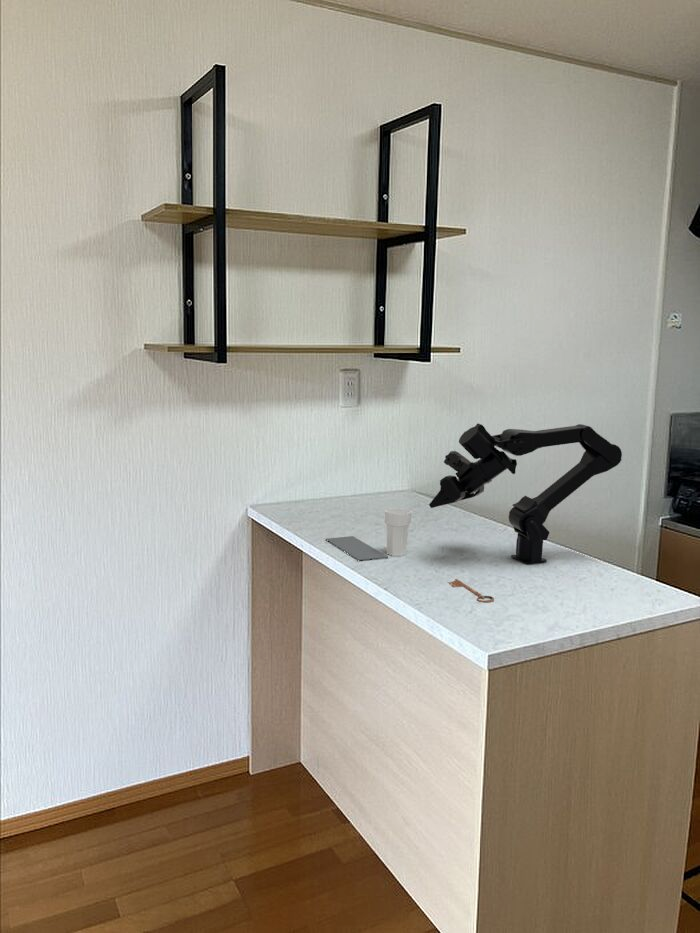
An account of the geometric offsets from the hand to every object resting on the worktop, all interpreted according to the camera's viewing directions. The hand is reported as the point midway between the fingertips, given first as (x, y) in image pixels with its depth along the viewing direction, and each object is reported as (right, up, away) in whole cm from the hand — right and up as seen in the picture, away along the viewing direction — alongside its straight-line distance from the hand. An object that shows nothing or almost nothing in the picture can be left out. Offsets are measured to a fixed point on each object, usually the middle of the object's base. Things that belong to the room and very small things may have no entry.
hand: (437, 504), depth 208 cm
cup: (-10, -13, +1) cm, 16 cm away
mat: (-20, -12, +4) cm, 24 cm away
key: (+4, -18, -26) cm, 32 cm away
